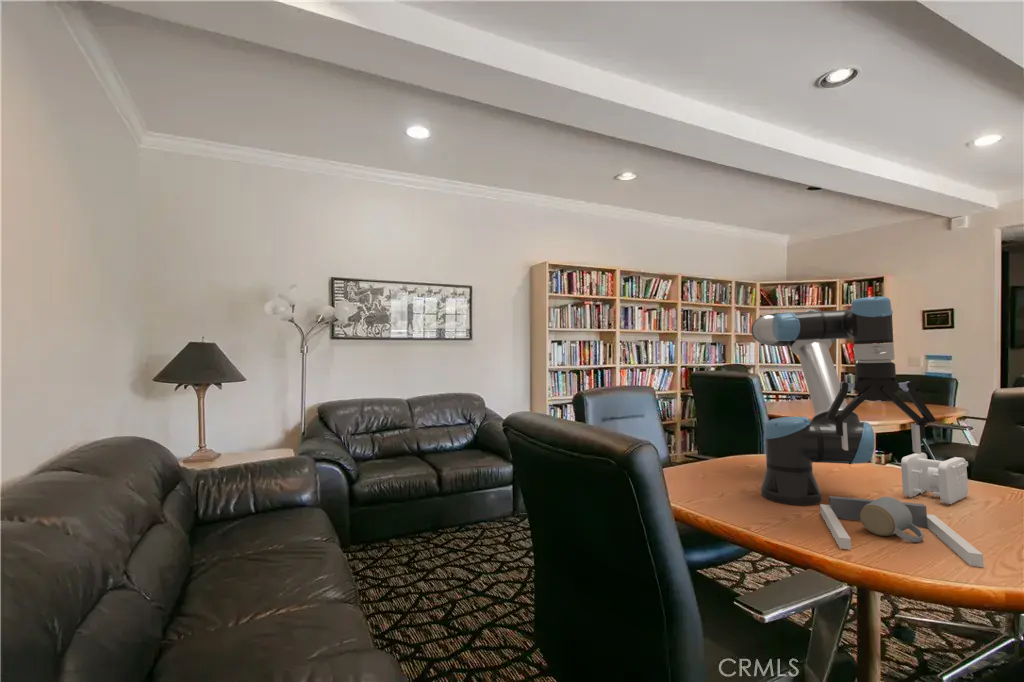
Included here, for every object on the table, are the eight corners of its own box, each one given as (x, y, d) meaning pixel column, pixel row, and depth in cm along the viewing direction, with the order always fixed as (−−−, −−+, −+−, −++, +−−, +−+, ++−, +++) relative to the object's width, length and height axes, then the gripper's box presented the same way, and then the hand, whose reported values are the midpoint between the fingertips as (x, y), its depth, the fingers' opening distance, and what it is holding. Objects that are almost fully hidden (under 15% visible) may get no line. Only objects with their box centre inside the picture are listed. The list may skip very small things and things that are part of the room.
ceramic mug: (857, 531, 107) (856, 498, 107) (875, 524, 111) (873, 492, 111) (914, 547, 98) (912, 512, 98) (930, 539, 102) (929, 505, 102)
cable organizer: (923, 489, 137) (921, 450, 138) (971, 498, 128) (968, 456, 129) (902, 498, 130) (899, 457, 130) (951, 508, 121) (948, 464, 121)
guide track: (840, 549, 98) (838, 525, 98) (820, 513, 120) (819, 494, 120) (983, 567, 88) (981, 541, 88) (934, 525, 109) (932, 504, 110)
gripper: (814, 363, 111) (820, 450, 110) (950, 360, 100) (956, 457, 99) (810, 362, 117) (815, 445, 116) (936, 359, 106) (942, 450, 105)
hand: (880, 451), depth 108 cm, fingers open, 13 cm apart
